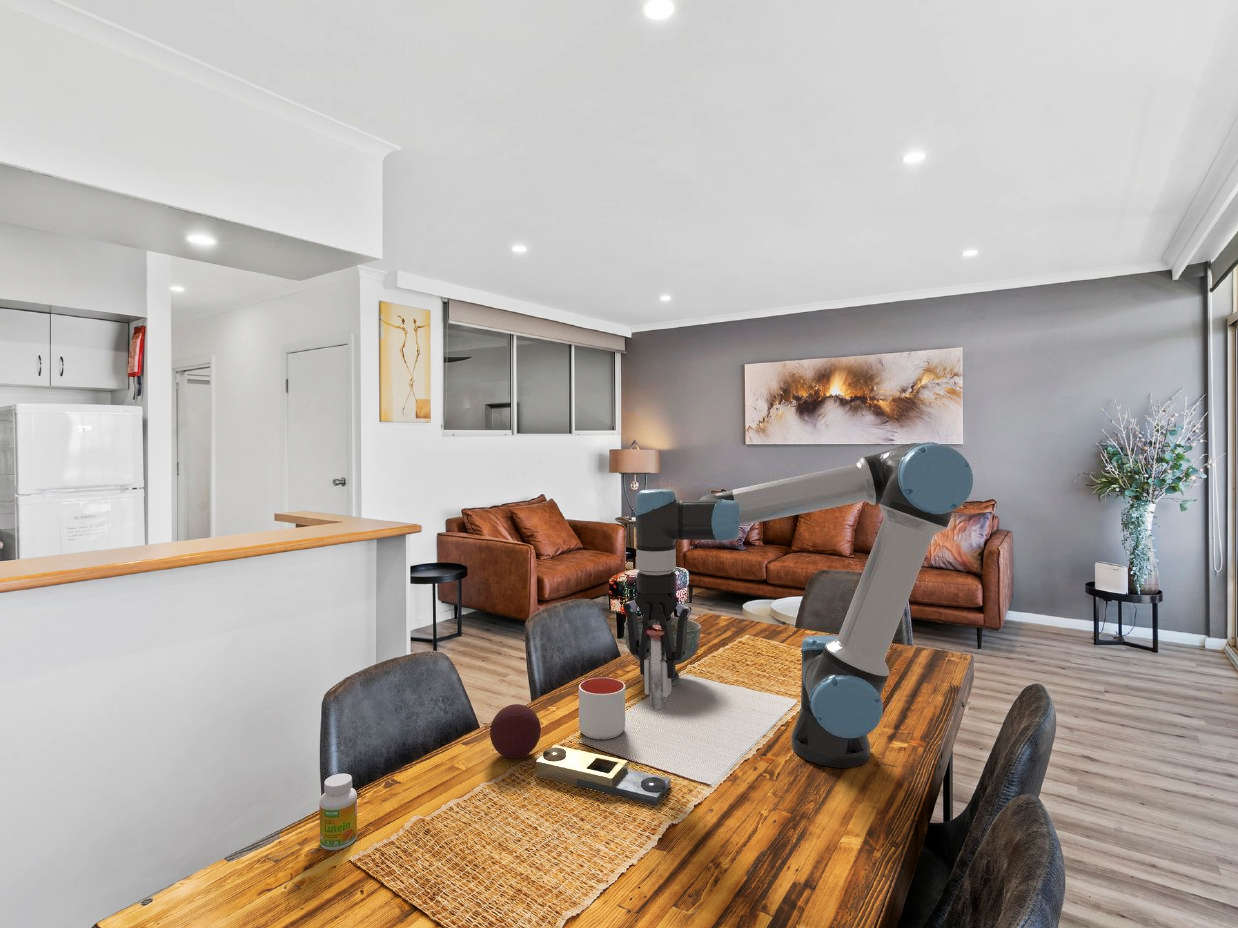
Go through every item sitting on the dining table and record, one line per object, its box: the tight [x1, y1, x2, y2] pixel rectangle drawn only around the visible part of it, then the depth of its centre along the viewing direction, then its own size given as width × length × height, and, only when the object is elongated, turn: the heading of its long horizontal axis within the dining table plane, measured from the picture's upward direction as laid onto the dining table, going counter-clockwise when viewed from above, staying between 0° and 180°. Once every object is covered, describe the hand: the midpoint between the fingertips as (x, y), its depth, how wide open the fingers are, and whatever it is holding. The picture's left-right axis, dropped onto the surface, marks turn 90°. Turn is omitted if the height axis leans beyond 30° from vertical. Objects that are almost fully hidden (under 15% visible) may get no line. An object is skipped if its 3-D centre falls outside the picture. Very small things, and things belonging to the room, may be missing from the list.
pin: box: [646, 625, 667, 710], centre depth 126 cm, size 4×4×15 cm
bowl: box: [623, 616, 702, 687], centre depth 173 cm, size 20×19×15 cm
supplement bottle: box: [318, 773, 358, 851], centre depth 103 cm, size 5×5×10 cm
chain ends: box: [535, 744, 671, 807], centre depth 121 cm, size 24×7×3 cm, turn 66°
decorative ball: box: [489, 703, 542, 759], centre depth 131 cm, size 10×10×10 cm
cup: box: [578, 677, 626, 740], centre depth 142 cm, size 10×10×10 cm
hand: (658, 692), depth 126 cm, fingers closed on pin, 3 cm apart
